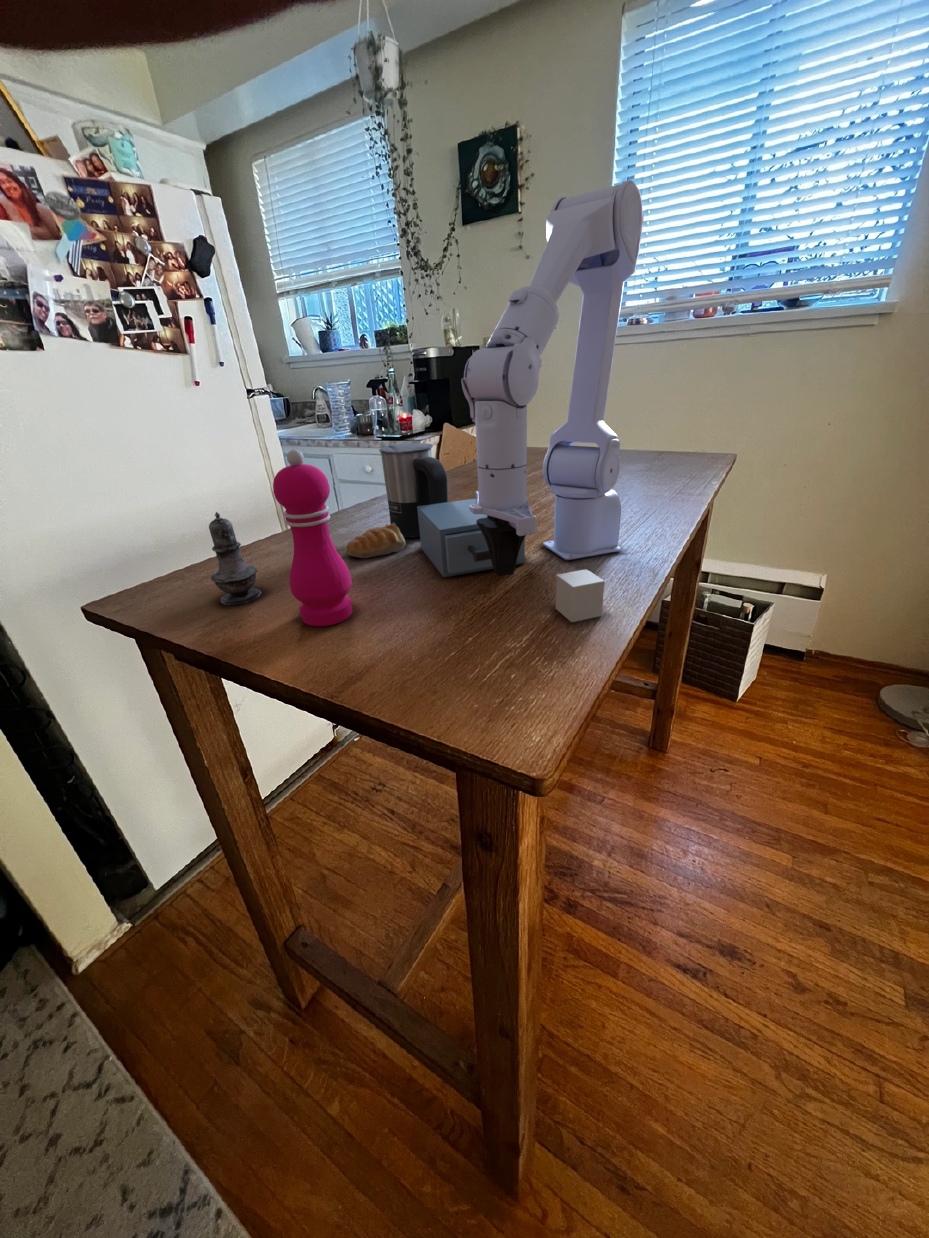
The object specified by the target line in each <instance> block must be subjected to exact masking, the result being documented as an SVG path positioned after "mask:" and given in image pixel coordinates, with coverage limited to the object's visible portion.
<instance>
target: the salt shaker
mask: <svg viewBox="0 0 929 1238" xmlns="http://www.w3.org/2000/svg"><path fill="white" fill-rule="evenodd" d="M220 516H221V514H220V513H219V512H218V511H215V513H214V517H215V518H214V519H213V520H211V522H209V524H208V529H209V533H210V538H211V539H212V543H213V546H212V547H211V551H213V552H215V554H216V560H217V562H218V570H216V571H215V572H213V574H211V576H210V579H211V581H212V582H214V584H215V586H216V587H217V588H218V589H219V591H222V592H223V593H225V594H223V595H222V596H221V598H220V603H221V604H222V605H225V606H238V605H243V604H247V603H251V602H254V601H255V600H257V599H258V598H260V596H261V595H262V591H261V590H260V589H258V588H255V587H254V585H255V583H256V582H257V581H256V580H257V574H256V573H258V568H257V566H255V565H251V564H247V563H246V562H245V561H244V559H243V557H242V553H241V549H240V547H241V545H242V543H241V542H239V541H238V540H237V537H236V534H235V530H234V527H233V523H232V521H230V520H229V519H227V518H223V517H220Z"/></svg>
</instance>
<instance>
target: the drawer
mask: <svg viewBox="0 0 929 1238" xmlns="http://www.w3.org/2000/svg"><path fill="white" fill-rule="evenodd" d="M445 535H446V536H445V546H446V559H447V571H448V572H449V574H452V573H458V572H464V571H469V570H475V569H481V568H486V567H492V566H493V565H492V561H491V557H490V553H489V550H488V546H487V543H486V540H485V538H484V536H483V534H482V532H481V530H480V529H477V530H471V531H464V532H458V533H451V534H445ZM520 561H524V562H525V558H524V540H523V542H522V545H521V547H520V550H519V554H518V558H517V562H520Z"/></svg>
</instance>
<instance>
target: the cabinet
mask: <svg viewBox="0 0 929 1238" xmlns="http://www.w3.org/2000/svg"><path fill="white" fill-rule="evenodd" d="M472 504H476V497H475V498H467V499H461V500H454V501H448V502H446V503H438V504H431V505H424V506H417V510H418V520H419V530H420V537H419V539H420V547H421V550H422V551H423V552H424V554H425V555H426V556H427V558H428V559H429V560H430V562H431V563H432V564H433V565H434V567H435V568H436V569H437V570H438V572H439V573H440V575H441V576H442V577H443V578H449V577H454V576H461V575H466V574H472V573H476V572H482V571H488V570H494V569H493V566H492V567H486V568H481V569H475V570H469V571H464V572H458V573H452V574H449V572H448V571H447V559H446V546H445V536H446V535H445V534H451V533H458V532H464V531H471V530H477V529H480V528H479V526H478V525H477V520H478V519H480V518H486V517H487V515H485V514H473V513H472V512H471V511H470V505H472ZM525 539H526V537H525V538H524V559H525V558H526V557H525V553H526V552H525V551H526V550H525V547H526V546H525ZM523 564H525V560H524V561H520V562H516V566H517V565H523Z"/></svg>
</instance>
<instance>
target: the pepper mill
mask: <svg viewBox="0 0 929 1238" xmlns="http://www.w3.org/2000/svg"><path fill="white" fill-rule="evenodd" d="M286 461H287V463H288V464H289V465H288V466H285V467H283V468H281V469H280V470H278V472H277V473H276V474H275V476H274V478H273V483H272V491H273V496H274V498H275V500H276V501H277V503H278V504H279V505H281V507H283V508H284V511H283V513H282V514H283V516H284V517H285V518H284V519H285V520H284V523H285V524H286V526H288V527H289V528H290V531H291V534H292V540H293V541H292V543H293V556H292V562H291V566H290V571H289V588H290V592H291V595H292V596H293V597H294V599H296V600H297V601H299V602H300V604H299V607H298V609H299V612H300V617H301V620H302V622H303V623H304V624H306V625H308V626H311V627H328V626H333V625H336V624H339V623H341V622H344V621H346V620H347V619H348V618H350V617H351V616H352V614H353V612H354V611H353V604H352V600H351V597H350V596H349V595H347V594H348V593H349V592H350V590H351V587H352V582H353V581H352V578H351V573H350V570H349V568H348V566H347V564H346V563H345V561H344V560H343V558H342V556H341V555H340V554H339V552H338V551H337V549H336V547H335V544H334V542H333V541H332V537H331V534H330V530H329V520H330V519H331V515H330V513H329V510H330V507H329V506H328V505H326V502H327V500H328V498H329V497H330V491H331V490H330V484H329V480H328V478H327V477H326V475H325V473H324V472H323V471H322V470H321V469H320V468H318V467H317V466H315V465H312V464H309V463H308V464H307V463H304V461H305V456H304V454H303V453H302V451H300V450H298V449H291V450H289V451H288V453H287V454H286Z"/></svg>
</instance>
